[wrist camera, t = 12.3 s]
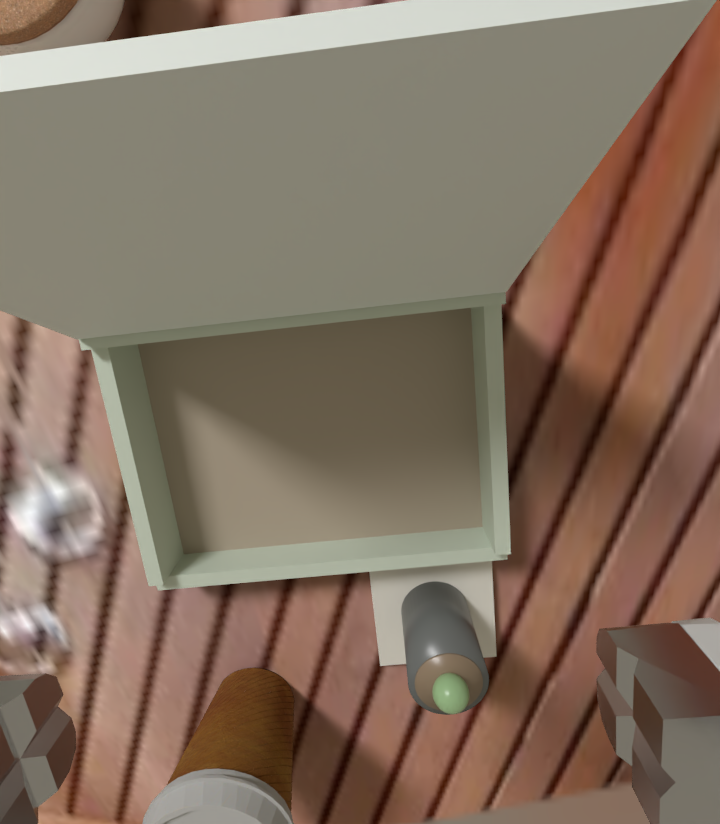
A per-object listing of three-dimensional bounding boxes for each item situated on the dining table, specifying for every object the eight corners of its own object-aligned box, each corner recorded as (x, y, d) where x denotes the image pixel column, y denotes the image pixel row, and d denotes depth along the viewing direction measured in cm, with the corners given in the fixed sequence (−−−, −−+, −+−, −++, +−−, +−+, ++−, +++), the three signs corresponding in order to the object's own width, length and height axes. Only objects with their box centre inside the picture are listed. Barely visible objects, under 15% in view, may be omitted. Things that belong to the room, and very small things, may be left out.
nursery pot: (465, 578, 38) (494, 668, 29) (469, 636, 39) (498, 738, 31) (398, 584, 38) (407, 675, 29) (404, 641, 39) (414, 745, 31)
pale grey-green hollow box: (478, 174, 32) (721, -50, 10) (495, 534, 38) (667, 886, 16) (98, 220, 33) (-444, 109, 11) (176, 562, 39) (-70, 930, 17)
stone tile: (488, 546, 38) (491, 552, 37) (494, 649, 40) (496, 656, 40) (368, 557, 39) (368, 563, 38) (380, 658, 41) (380, 665, 40)
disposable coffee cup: (204, 641, 41) (138, 786, 29) (322, 660, 41) (304, 812, 29) (192, 736, 43) (127, 905, 32) (304, 754, 43) (281, 928, 32)
